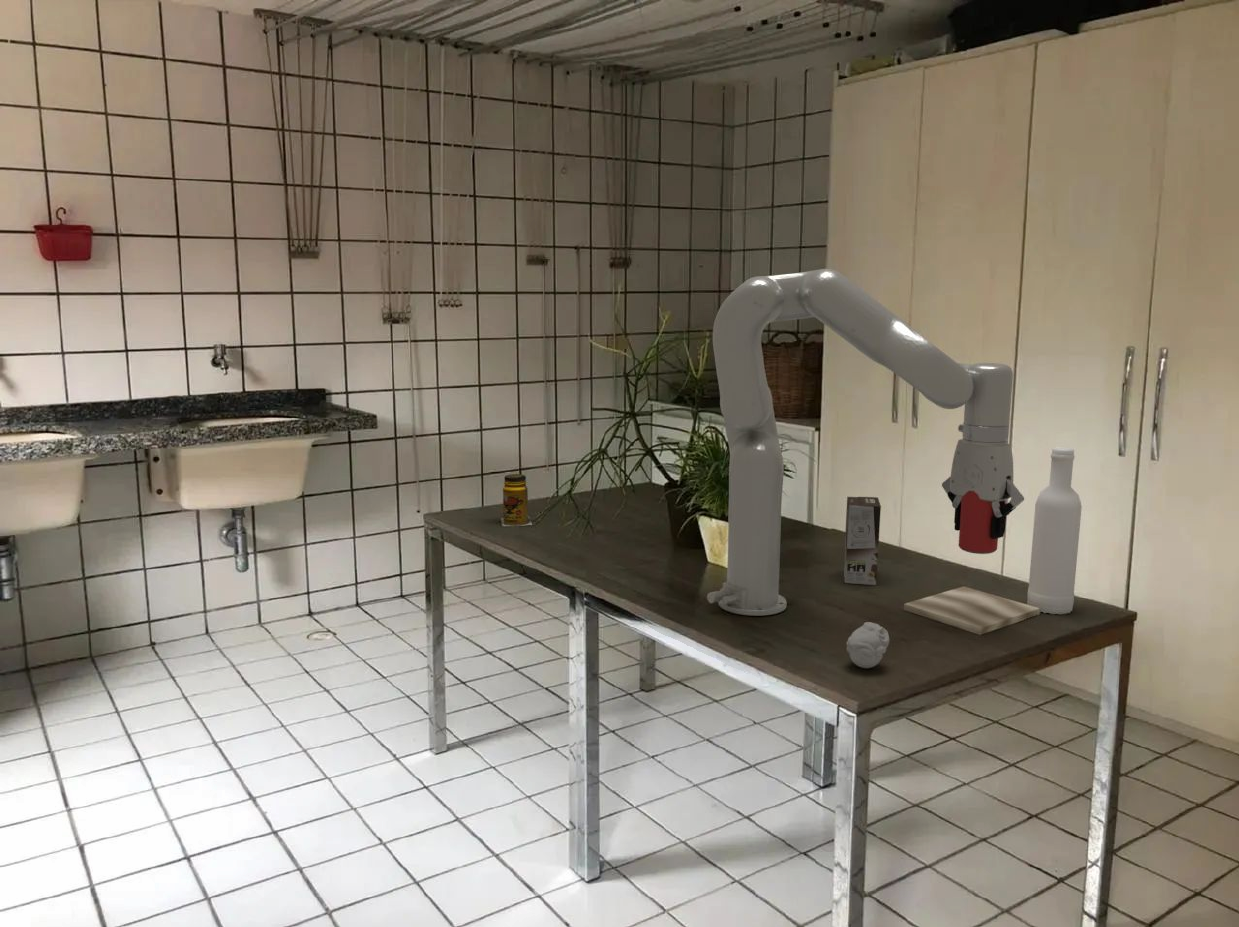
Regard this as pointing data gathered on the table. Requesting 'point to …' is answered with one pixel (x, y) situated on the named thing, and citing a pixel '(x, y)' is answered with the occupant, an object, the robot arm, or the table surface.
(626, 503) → the table surface
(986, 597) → the birch board
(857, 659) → the frog figurine
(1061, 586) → the bottle
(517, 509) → the condiment
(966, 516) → the beer can
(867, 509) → the coffee box
